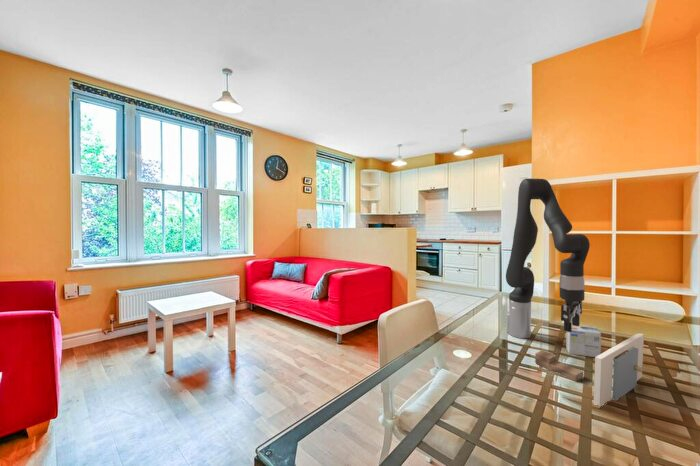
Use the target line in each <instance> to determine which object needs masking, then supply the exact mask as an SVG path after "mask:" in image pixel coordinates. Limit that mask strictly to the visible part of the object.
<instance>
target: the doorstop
mask: <svg viewBox="0 0 700 466" xmlns="http://www.w3.org/2000/svg"><path fill="white" fill-rule="evenodd" d="M534 358H535V359H534V362H535V363H536V364H537V365H536V364H535V363H534V364H535V365H536V366H538V365H539V367H541V368H542V369H543V368H544V369H546V370H548V371H551V372H552V371H555V372H558V373H560V374H562V375H564V376H566V377H567V378H566V377H565V378H566V379H568V380H571V381H573V382H575V383H577V382H579V381H580V380H581V379H583V378H584V371H583V370H582V369H581V370H580V369H578V368H576V367H573V366H571V365H569V364H566V363H564V362H561V361H558V360H557V355H556V354H554V353H552V352H549V351H547V350H544V349H543V350H542V349H541V350H540V351H538V352H536V353H535V357H534Z"/></svg>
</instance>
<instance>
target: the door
mask: <svg viewBox="0 0 700 466" xmlns="http://www.w3.org/2000/svg"><path fill="white" fill-rule="evenodd" d="M637 371H639V372H642V373H643V366H642V367H640V366H638V348H633V349H631V350H630V351H625V353H622V354H620V356H617V358H616V357H615V358H614V359H613V371H612V394H611V400H613V399H614V400H613V401H615V400H617V399H618V400H619V398H620V397H621V396H622V395H624V394H625V395H626V394H628V393H629V392H630V391H632V390H633V389H634V388H635V387H637V384H638V383H637V382H638V381H637ZM625 395H624V396H625ZM622 397H623V396H622ZM622 397H621V398H622ZM621 398H620V399H621ZM618 400H617V401H618Z"/></svg>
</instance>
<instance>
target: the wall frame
mask: <svg viewBox="0 0 700 466" xmlns="http://www.w3.org/2000/svg"><path fill="white" fill-rule="evenodd" d="M644 338H645V334H644V333H640V332H639V333H636V334H634V335H631V336H630V337H629V338H627V339H625V340H623V341H622V342H620V343H618V344H616V345H613V347H611V348H609V349H607V350H605V351H604V352H601V354H600V355H598V356H596V357H594V379H593V404H594V405H599V406H601V405H603V404H604V403H605V402H607V401H609V402H610V400H611V401H612V394H613V370H614V359H615V358H616V357H619V355H622V354H624V352H628V351H630V350H631V349H633V348H638V366H640V367H642V368H643V363H644V361H643V360H644V344H645V343H644V341H645V339H644ZM627 350H628V351H627ZM642 377H643V371H642V372H639V371H637V382H638V381H639V380H640V379H642Z"/></svg>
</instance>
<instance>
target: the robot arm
mask: <svg viewBox="0 0 700 466" xmlns="http://www.w3.org/2000/svg"><path fill="white" fill-rule="evenodd" d="M550 183H551V182H550V181H548V180H547V179H545V178H524V179H522V181H521V182H520V183H519V186H518V194H517V210H516V211H517V212H516V221H515V226H514V232H513V236H512V237H513V238H512V245H511V251H510V257H509V261H508V264H507V267H506V272H505V280H506V283H507V284H508V286H509V287H510V288H514V289H513V290H512V291H510V292H509V294H508V313H507V314H506V333H508V334H509V335H510V336H512V337H515V338H518V339H529V338H531V335H532V334H531V333H532V332H531V331H532V330H531V329H532V328H531V327H532V324H531V323H532V297H533V296H534V291H535V290H534V289H535V288H534V287H535V276H534V273H533V271H532V269H530V268H529V267H527V266H525V263H526V260H527V258H528V257H529V255H530V253H532V250H533V249H534V248H535V246H536V243H537V238H538V232H539V228H538V224H537V222H536V220H535V218H534V217H533V214H532V211H531V202H532V200H540V201H541V202H542V203H543V204H544V211H543V219H544V222H545V224H546V226H547V227H548V229H549V230H550V231H551V236H552V239H553V245H554V248H555V249H556V251H558V252H559V253H561V254H570V256H569V257H567V258H564V259H562V260H561V261H560V265H559V266H560V268H559V269H560V276H559V298H560V299H562V300H564V303H563V304H561V305H560V321H562V322H563V331H564V332H565V333H566V332H571V331H572V325H574V326H581V325H580V323H581V321H580V317H581V316H582V314H583V302H584V301H585V277H584V276H585V275H584V273H585V271H584V270H585V269H584V265H585V262H586V260H587V256H588V253H589V252H590V251H589V250H590V246H591V244H590V240H589V238H588V237H587V236H586V235H584V234H582V233H576V234H572V233H571V234H569V233H570V232H571V231H572V229H573V225H572V223H571V221H570V220H569V219H568V218H567V216H566V214H565V213H564V212H563V210H562V208H561V206H560V204H559V202H558V200H557V197H556V194H555V192H554V189H553V187H552V185H551V184H550Z"/></svg>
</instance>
